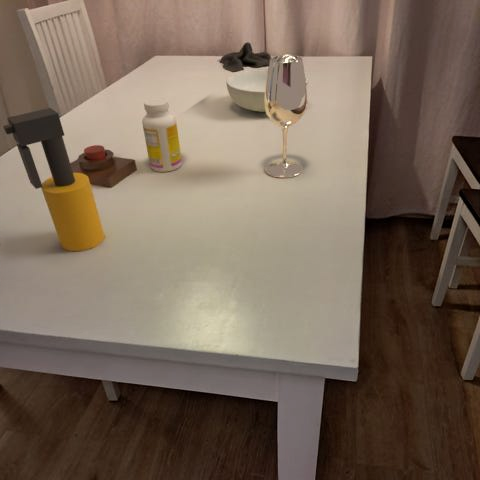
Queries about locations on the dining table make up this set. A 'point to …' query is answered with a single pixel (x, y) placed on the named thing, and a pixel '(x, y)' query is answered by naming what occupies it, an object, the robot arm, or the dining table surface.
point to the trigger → (29, 166)
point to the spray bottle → (61, 181)
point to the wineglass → (285, 104)
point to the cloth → (244, 59)
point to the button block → (104, 169)
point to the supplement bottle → (161, 136)
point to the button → (94, 152)
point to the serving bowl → (249, 89)
